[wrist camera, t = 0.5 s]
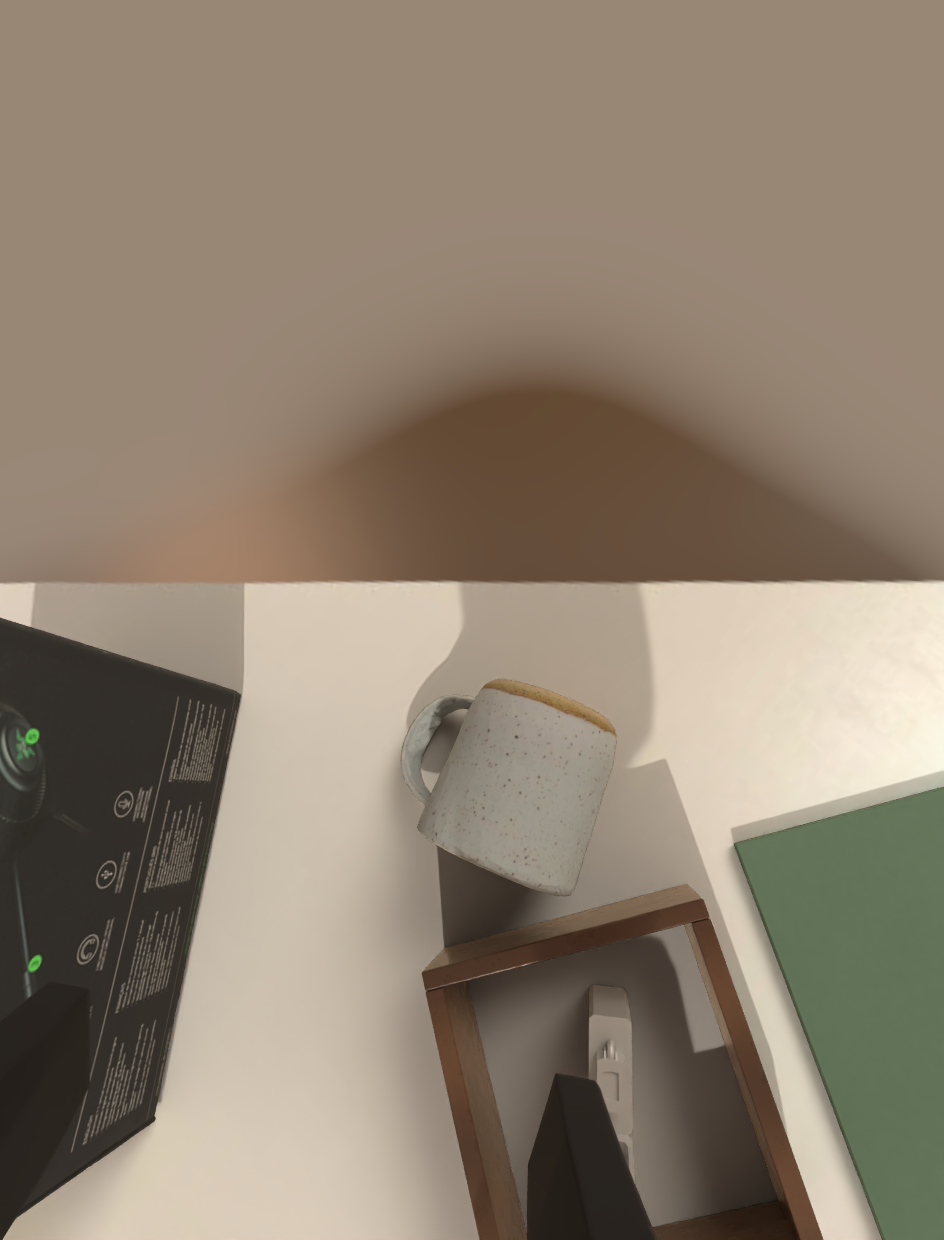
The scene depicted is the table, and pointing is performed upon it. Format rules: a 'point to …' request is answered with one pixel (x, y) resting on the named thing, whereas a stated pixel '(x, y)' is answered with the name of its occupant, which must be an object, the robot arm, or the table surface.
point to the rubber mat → (869, 987)
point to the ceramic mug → (515, 782)
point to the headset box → (104, 858)
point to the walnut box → (750, 1236)
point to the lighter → (613, 1060)
